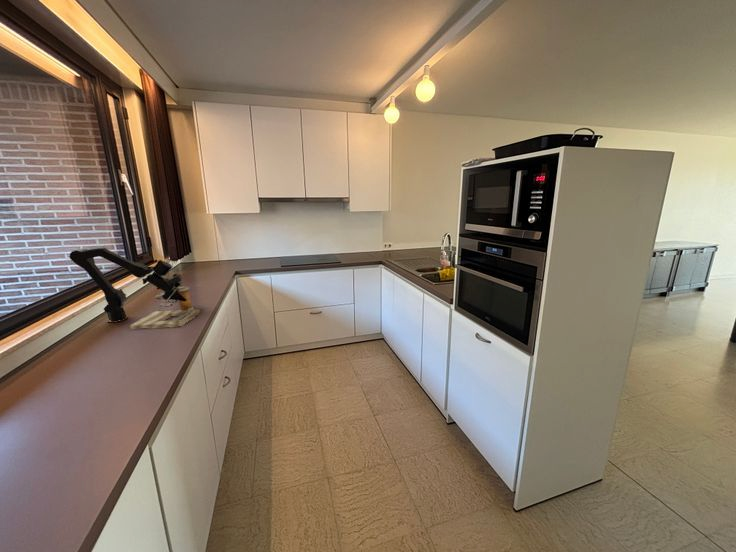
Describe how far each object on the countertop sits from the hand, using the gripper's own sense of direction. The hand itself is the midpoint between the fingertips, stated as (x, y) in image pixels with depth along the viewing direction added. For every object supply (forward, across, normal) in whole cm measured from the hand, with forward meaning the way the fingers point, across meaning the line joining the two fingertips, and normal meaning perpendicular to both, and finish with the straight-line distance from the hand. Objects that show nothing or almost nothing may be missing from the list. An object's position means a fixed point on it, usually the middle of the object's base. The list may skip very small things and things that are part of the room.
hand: (187, 298), depth 167 cm
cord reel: (+4, 0, +6) cm, 7 cm away
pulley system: (-5, +27, +15) cm, 32 cm away
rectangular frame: (-1, -13, +10) cm, 16 cm away
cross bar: (+4, -15, +3) cm, 16 cm away
